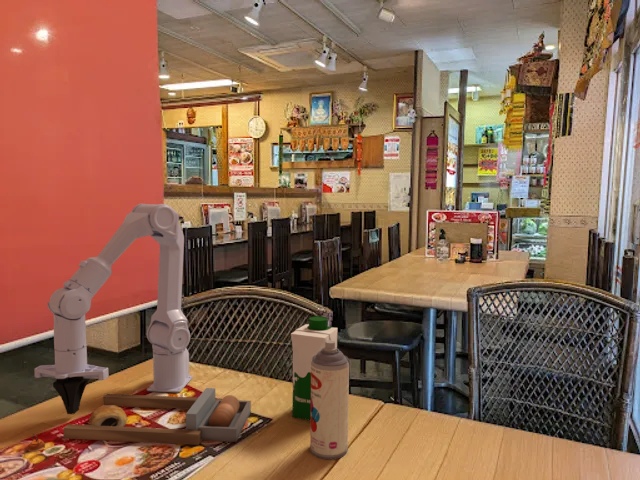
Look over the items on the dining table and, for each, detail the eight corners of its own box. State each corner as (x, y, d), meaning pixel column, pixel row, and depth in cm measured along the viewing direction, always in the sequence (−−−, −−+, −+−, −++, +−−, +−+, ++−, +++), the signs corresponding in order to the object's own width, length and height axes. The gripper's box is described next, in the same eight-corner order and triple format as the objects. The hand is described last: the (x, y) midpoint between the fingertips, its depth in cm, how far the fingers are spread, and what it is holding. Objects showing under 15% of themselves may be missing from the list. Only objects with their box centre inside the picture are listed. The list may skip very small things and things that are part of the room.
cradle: (217, 410, 99) (217, 399, 99) (250, 412, 99) (250, 400, 99) (198, 440, 87) (198, 427, 87) (236, 441, 87) (236, 429, 86)
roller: (221, 414, 97) (219, 395, 96) (240, 413, 96) (238, 394, 96) (209, 433, 89) (207, 413, 89) (230, 432, 89) (228, 412, 88)
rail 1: (107, 402, 103) (107, 393, 103) (222, 407, 101) (222, 398, 101) (103, 405, 101) (103, 396, 101) (220, 410, 99) (220, 401, 99)
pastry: (87, 418, 96) (87, 400, 96) (122, 411, 99) (122, 393, 99) (91, 438, 88) (90, 418, 88) (129, 429, 91) (129, 411, 91)
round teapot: (24, 453, 82) (23, 439, 82) (32, 444, 85) (31, 430, 85) (41, 452, 83) (41, 438, 83) (48, 443, 86) (48, 429, 86)
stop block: (206, 410, 99) (206, 387, 99) (215, 410, 99) (215, 388, 99) (186, 439, 87) (185, 413, 87) (196, 439, 87) (196, 414, 87)
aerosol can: (307, 441, 87) (308, 337, 85) (342, 438, 88) (344, 335, 87) (313, 461, 80) (314, 348, 79) (351, 457, 82) (353, 346, 80)
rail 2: (68, 434, 89) (68, 424, 89) (201, 440, 87) (201, 430, 87) (63, 438, 87) (63, 428, 87) (198, 444, 85) (198, 434, 85)
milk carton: (340, 407, 101) (341, 318, 99) (325, 426, 93) (326, 328, 91) (303, 401, 104) (304, 313, 103) (285, 418, 96) (286, 323, 94)
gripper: (22, 352, 91) (25, 419, 92) (94, 354, 89) (96, 422, 91) (46, 341, 98) (49, 403, 99) (113, 343, 96) (114, 406, 98)
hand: (73, 411), depth 95 cm, fingers closed
